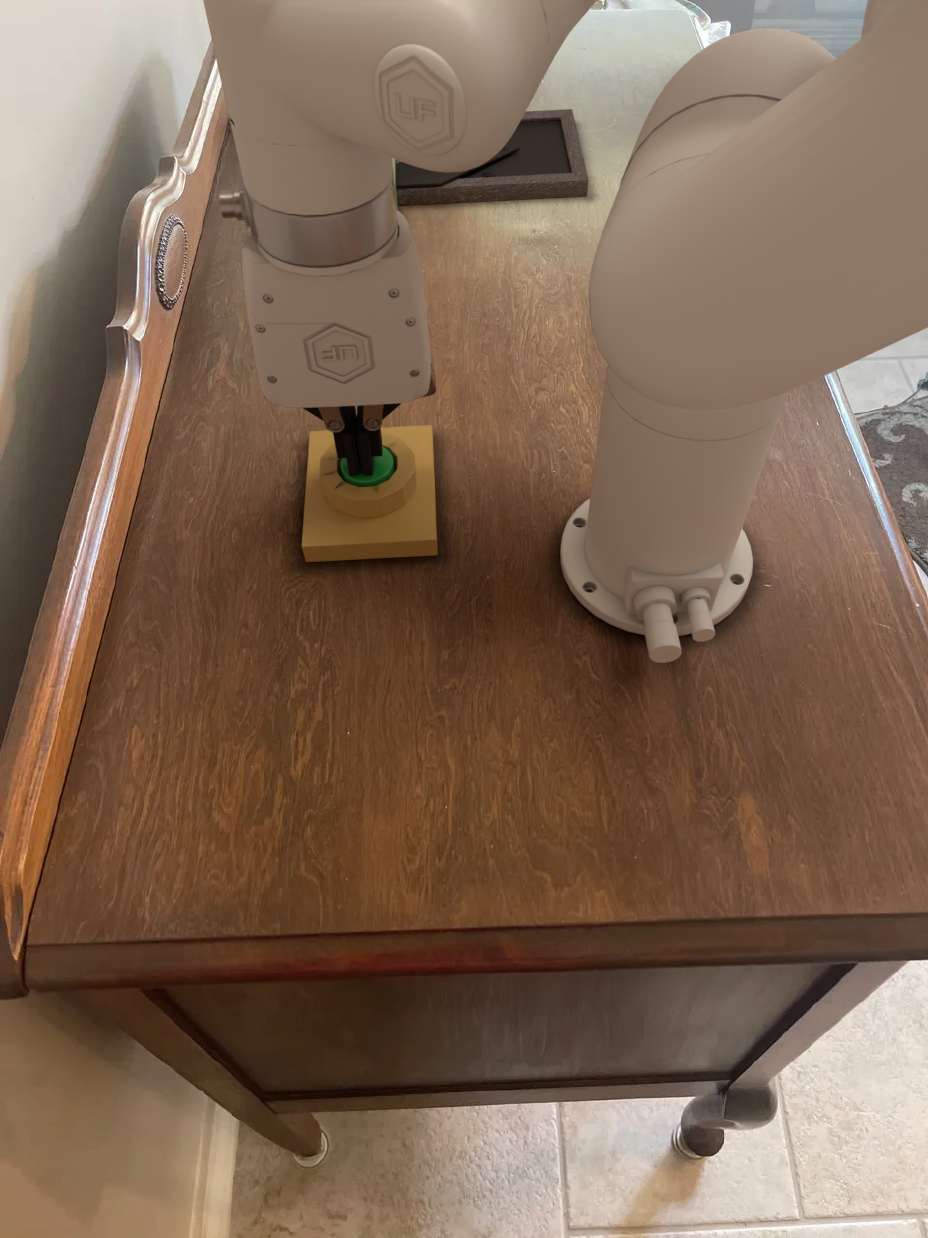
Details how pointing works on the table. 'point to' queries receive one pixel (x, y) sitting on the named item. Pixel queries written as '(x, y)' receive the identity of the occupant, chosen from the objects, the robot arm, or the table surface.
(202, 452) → the table surface
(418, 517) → the switch block
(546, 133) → the picture frame
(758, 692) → the table surface
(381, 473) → the button
